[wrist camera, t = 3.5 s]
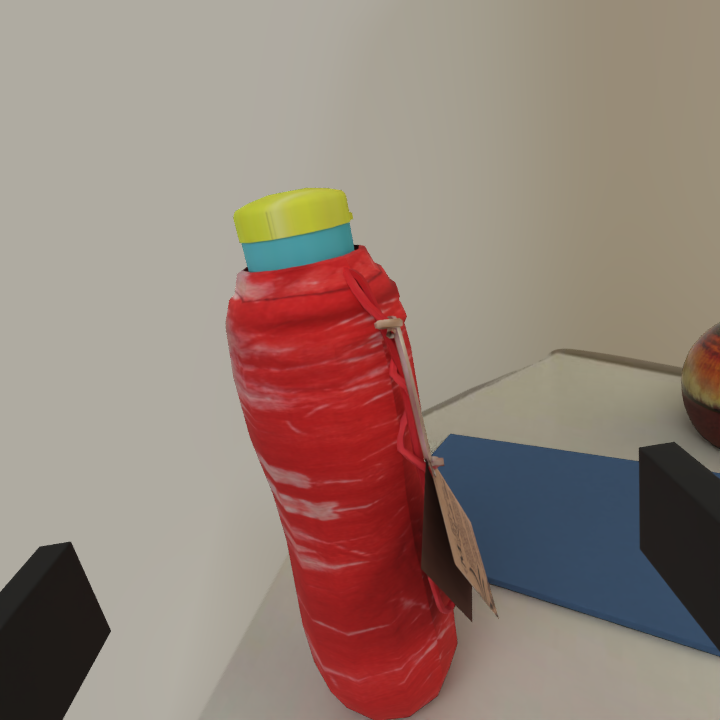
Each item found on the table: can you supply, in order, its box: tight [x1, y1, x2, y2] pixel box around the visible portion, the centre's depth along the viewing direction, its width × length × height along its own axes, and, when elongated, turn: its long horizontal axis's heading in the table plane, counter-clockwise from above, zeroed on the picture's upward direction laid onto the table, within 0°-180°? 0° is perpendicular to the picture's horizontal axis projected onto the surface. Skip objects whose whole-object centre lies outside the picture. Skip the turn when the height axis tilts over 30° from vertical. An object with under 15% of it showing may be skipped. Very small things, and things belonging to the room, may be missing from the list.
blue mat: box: [431, 434, 720, 656], centre depth 37 cm, size 22×16×1 cm
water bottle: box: [226, 188, 499, 720], centre depth 22 cm, size 12×8×25 cm, turn 44°
